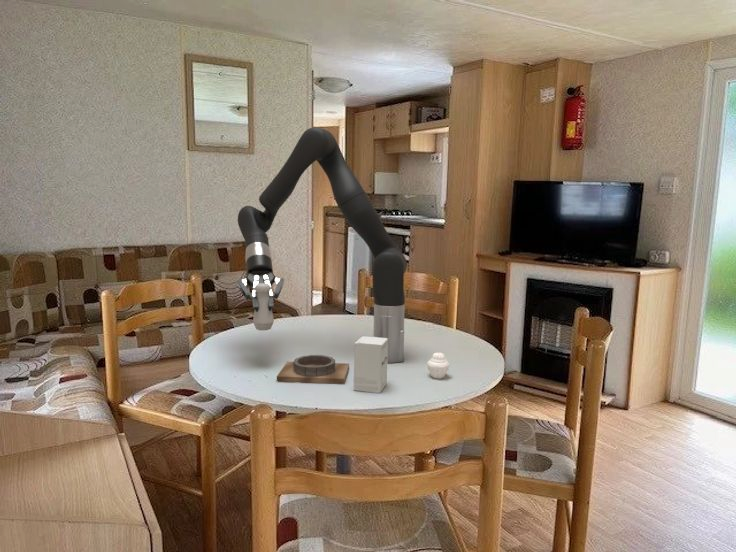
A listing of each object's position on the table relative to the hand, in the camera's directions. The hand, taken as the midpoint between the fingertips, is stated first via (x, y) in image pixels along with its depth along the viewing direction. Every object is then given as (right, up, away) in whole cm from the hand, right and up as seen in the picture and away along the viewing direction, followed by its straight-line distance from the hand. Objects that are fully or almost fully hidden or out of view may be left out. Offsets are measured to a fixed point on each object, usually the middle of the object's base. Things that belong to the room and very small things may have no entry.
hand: (263, 309), depth 149 cm
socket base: (+14, -18, -1) cm, 23 cm away
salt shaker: (-1, -6, +3) cm, 6 cm away
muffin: (+48, -19, -1) cm, 52 cm away
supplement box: (+30, -20, -10) cm, 37 cm away
